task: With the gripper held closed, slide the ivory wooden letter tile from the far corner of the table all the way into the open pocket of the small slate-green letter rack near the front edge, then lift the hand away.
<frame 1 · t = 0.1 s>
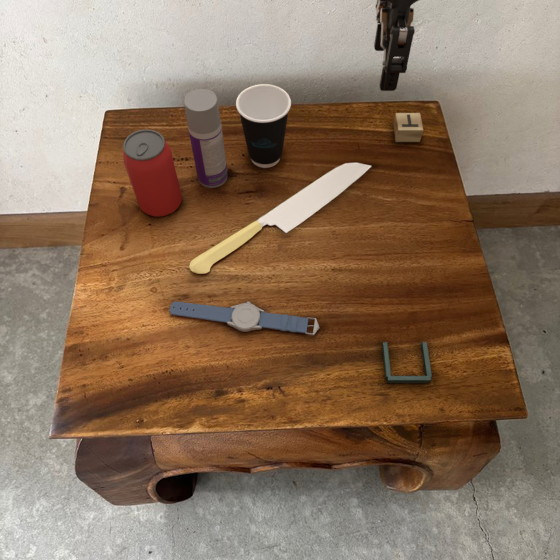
hand: (384, 68, 76), 15 cm above the table, tool pointing down, fingers open, 8 cm apart
dixie cup: (265, 157, 88), on the table
wristwatch: (244, 318, 73), on the table
letter tile: (406, 133, 91), on the table
letter rack: (405, 362, 69), on the table
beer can: (161, 202, 83), on the table
container: (212, 177, 86), on the table
knife: (287, 217, 82), on the table
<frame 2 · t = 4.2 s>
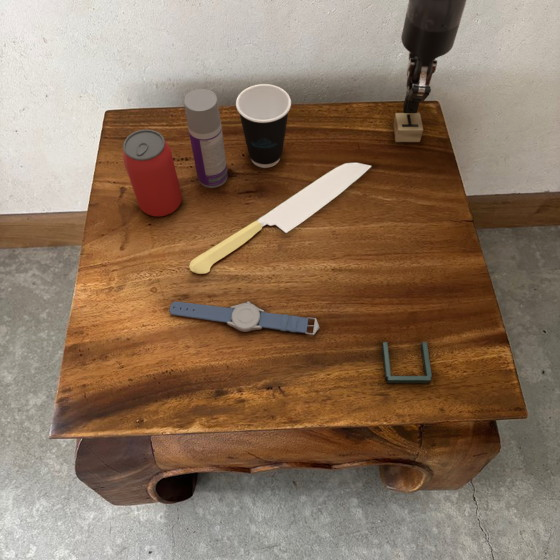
hand: (409, 110, 91), 2 cm above the table, tool pointing down, fingers closed
letter tile: (406, 133, 91), on the table, touching gripper
everything else where it was.
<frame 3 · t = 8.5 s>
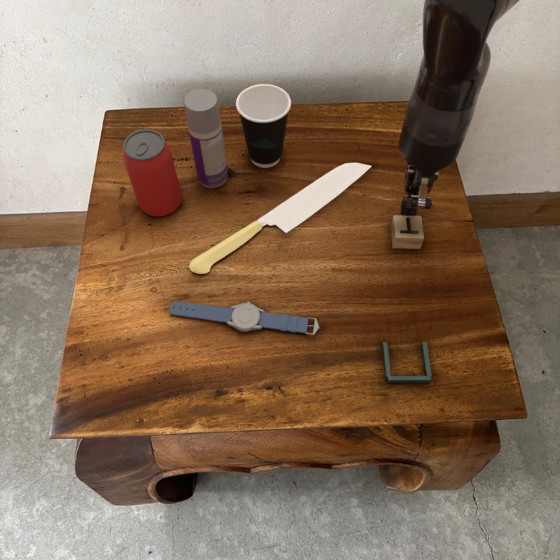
hand: (407, 211, 80), 2 cm above the table, tool pointing down, fingers closed
letter tile: (405, 237, 79), on the table, touching gripper
everything else where it was.
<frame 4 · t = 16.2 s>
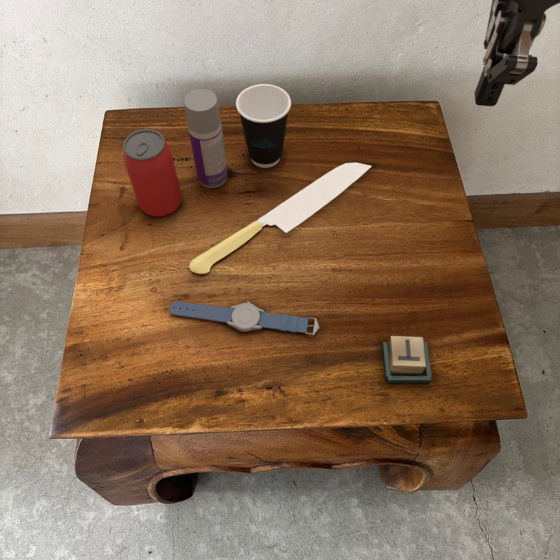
hand: (484, 100, 58), 25 cm above the table, tool pointing down, fingers closed
letter tile: (404, 359, 69), on the table
everything else where it was.
at the end: letter tile 0.4 cm off-centre on the letter rack, point 0.0 cm above the letter rack's base; letter tile tilted 0° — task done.
